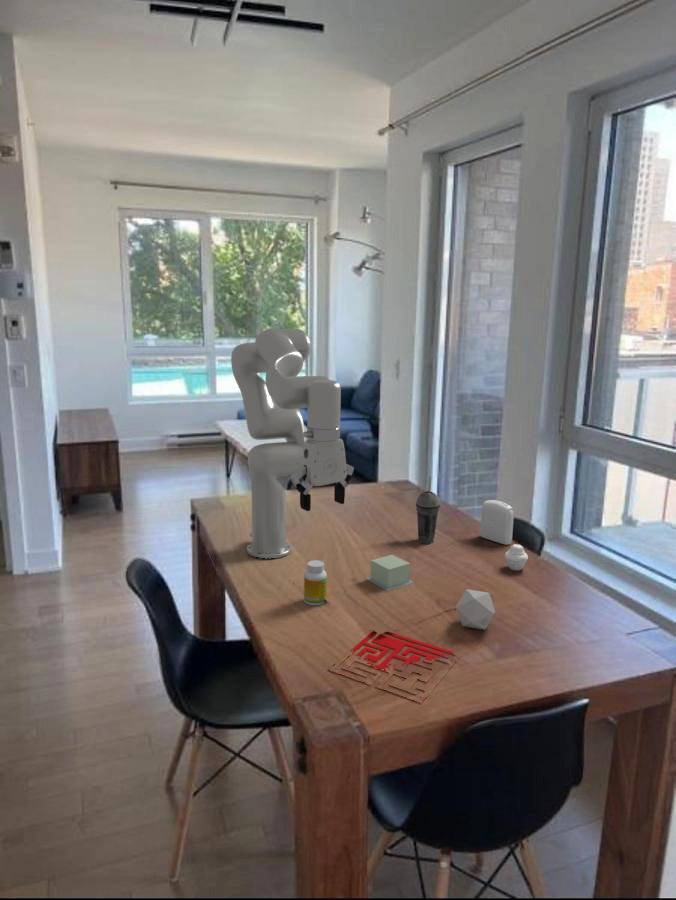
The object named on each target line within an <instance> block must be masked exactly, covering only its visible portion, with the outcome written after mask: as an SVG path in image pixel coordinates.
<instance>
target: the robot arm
mask: <svg viewBox="0 0 676 900" xmlns="http://www.w3.org/2000/svg"><path fill="white" fill-rule="evenodd" d="M310 352H311V342H310V339H309V336H308V335H307V333H306V332H305V331H304V330H302V329H300V328H267V329H264V330H262V331H261V332H259V333H258V335H257V336H256V337H255V341H253V342H244V343H241V344H238V345H236V346H235V347H234V348H232V352H231V357H230V364H231V365H230V366H231V370H232V375H233V377H234V379H235V382H236V384H237V386H238V389H239V391H240V393H241V398H242V402H243V408H244V409H243V410H244V415H245V420H246V426H247V430H248V433H249V436H250V437H251V438H252V439H254V440H258V441H263V440H264V441H265V440H266V441H267V440H278V439H279V440H280V439H285V440H286V441H283V442H282V441H280V442H267V443H260V444H257V445H254V446H252V448H251V449H250V450H249V451H248V453H247V464H248V471H249V476H250V484H251V485H250V486H251V487H250V488H251V532H250V533H249V537H250V538H251V543H250V544H248V545H247V546H246V554H248V555H249V554H250V555H249V556H251V555H252V556H251V557H253V556H254V557H253V558H256V557H258V559H262V558H265V560H270V559H271V558H274V559H279V558H283V557H285V556H287V555H289V554H290V553H291V551H292V549H291V548H292V547H291V545H290V544H289V543H288V542H286V491H285V488H284V487H283V485H282V484H281V483H280V481H278V478H280V477H286V476H287V477H288V476H289V477H290V478H289V479H290V480H291V483H292V485H293V488H295V489H296V490H297V492H298V493H299V505H300V509H302V510H303V511H306V512H310V511H311V509H312V506H311V505H312V504H311V503H312V502H311V501H312V500H311V499H312V496H311V494H310V492H311V490H312V488H313V487H320V486H321V487H322V486H325V485H331V484H336V485H334V490H333V491H334V495H333V496H334V502H335V503H338V504H340V505H344V504H345V497H346V495H345V494H346V488H347V487H348V483H349V482H350V481H351V479H352V475H353V473H354V470H355V467H354V466H352V465H350V464H348V463H347V459H346V449H345V443H344V440H343V439H341V407H342V406H341V403H342V401H341V400H342V398H341V395H342V394H341V392H342V389H341V384H340V383H339V382H338V381H336V380H332V379H329V378H328V377H326V376H323V375H304V376H303V375H302V376H301V375H299V374H300V373H301V371H302V369H303V368H304V367H303V366H304V361H306V359H307V358H308V357H309V354H310ZM259 373H260V374H263V373H265V380H264V379H263V378H262V377H261V376H260V375H259ZM298 375H299V376H298ZM299 409H307V410H306V411H307V412H306V413H307V419H306V424H307V425H306V426H307V427H306V428H305V423H304V418H303V415H302V412H301V411H300V410H299ZM300 479H301V481H302V482H300ZM268 558H269V559H268ZM271 560H272V559H271Z"/></svg>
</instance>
